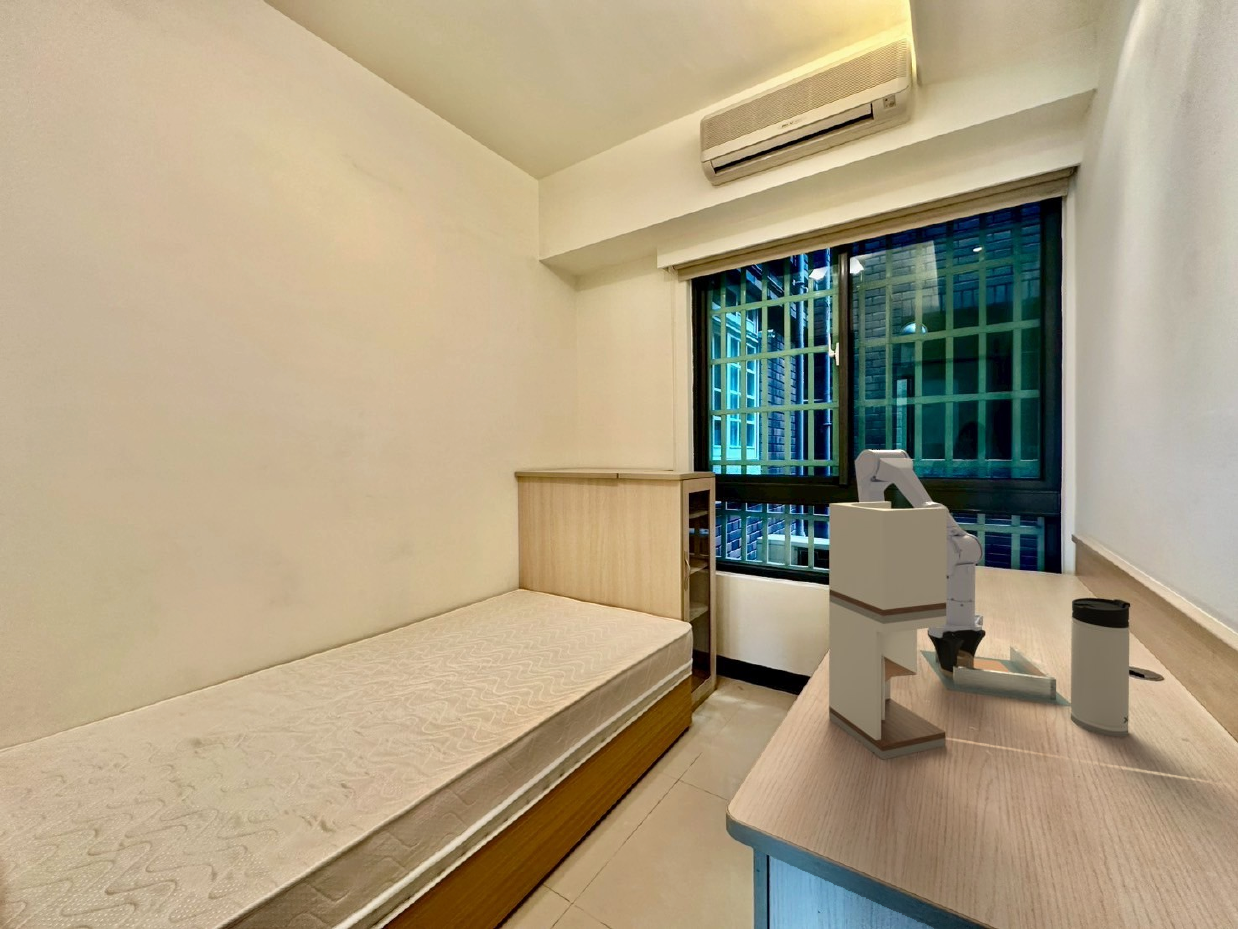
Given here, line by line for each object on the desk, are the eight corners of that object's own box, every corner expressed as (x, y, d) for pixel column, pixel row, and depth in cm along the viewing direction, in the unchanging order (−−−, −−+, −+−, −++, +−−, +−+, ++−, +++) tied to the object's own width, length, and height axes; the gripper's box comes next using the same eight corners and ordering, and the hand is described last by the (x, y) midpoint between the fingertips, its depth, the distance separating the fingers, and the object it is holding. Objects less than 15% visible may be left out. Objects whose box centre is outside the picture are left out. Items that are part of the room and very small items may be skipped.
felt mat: (948, 691, 83) (948, 689, 83) (919, 651, 100) (919, 650, 100) (1074, 708, 77) (1074, 706, 77) (1021, 663, 94) (1021, 661, 94)
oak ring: (945, 677, 88) (945, 657, 88) (936, 666, 92) (937, 646, 92) (976, 681, 86) (977, 660, 86) (966, 670, 91) (966, 650, 91)
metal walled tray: (954, 686, 84) (954, 667, 84) (929, 653, 98) (929, 637, 98) (1056, 700, 80) (1056, 679, 80) (1014, 663, 94) (1014, 646, 94)
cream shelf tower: (882, 759, 65) (883, 510, 64) (829, 718, 75) (829, 503, 74) (945, 745, 68) (946, 508, 67) (885, 708, 78) (886, 501, 77)
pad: (975, 671, 90) (975, 669, 90) (964, 658, 96) (964, 657, 96) (1013, 676, 88) (1013, 674, 88) (999, 662, 94) (999, 661, 94)
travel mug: (1143, 741, 68) (1145, 607, 68) (1090, 736, 70) (1092, 605, 69) (1108, 718, 74) (1109, 595, 74) (1060, 714, 76) (1061, 593, 76)
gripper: (957, 609, 82) (957, 684, 83) (1001, 597, 89) (1000, 668, 89) (917, 598, 89) (917, 668, 89) (960, 588, 95) (960, 654, 95)
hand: (956, 667), depth 89 cm, fingers closed on oak ring, 5 cm apart
